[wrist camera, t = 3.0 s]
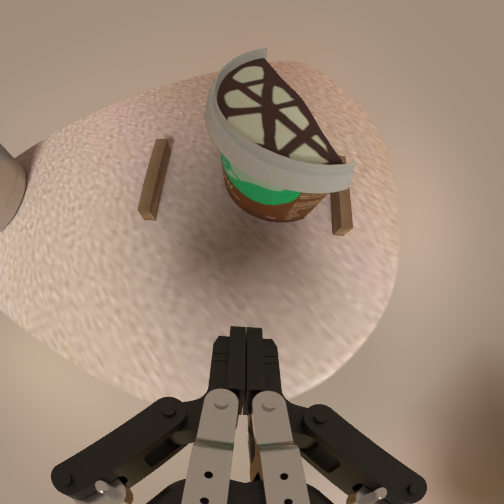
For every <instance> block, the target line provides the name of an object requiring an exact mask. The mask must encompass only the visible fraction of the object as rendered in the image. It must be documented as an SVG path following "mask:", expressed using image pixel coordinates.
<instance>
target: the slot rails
mask: <svg viewBox="0 0 504 504" xmlns="http://www.w3.org/2000/svg"><path fill="white" fill-rule="evenodd" d="M169 156H170V149H169V145H168V141H167V139H156V142H155V145H154V148H153V152H152V155H151V159H150V162H149V166H148V170H147V173H146V177H145V181H144V185H143V189H142V193H141V197H140V202H139V206H138V211H139V213H140V214H141V215H142V217H143V218H144V220H156V215H157V209H158V204H159V199H160V195H161V190H162V185H163V181H164V177H165V172H166V168H167V164H168V160H169ZM338 156H339V157H340V158H341V160H342V162H343V164H346V158H345V156H340V155H338ZM331 206H332V224H333V235H340V236H344V235H345V234H346V233H347V232H349V231H350V230H351V229H352V228H353V223H352V211H351V200H350V190H349V187H348V189H346V190H342V191H338V192H331Z"/></svg>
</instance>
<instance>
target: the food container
mask: <svg viewBox="0 0 504 504" xmlns="http://www.w3.org/2000/svg"><path fill="white" fill-rule="evenodd" d="M266 52H267V48H264V49H258V50H254V51H250V52H247V53H244V54H242V55H240V56H238V57H236V58H234V59H233V60H231V61H230V62H229V63H227V64H226V65H225V66H224V67H223V68H222V69H221V71H220V72H219V74H218V75H217V77H216V79H215V80H214V82H213V84H212V87H211V89H210V92H209V96H208V100H207V104H206V112H205V119H206V126H207V129H208V132H209V135H210V137H211V139H212V140H213V142H214V144H215V145H216V147H217V148H218V149H219V151H220V152H221V159H222V166H223V172H224V179H225V185H226V188H227V190H228V192H229V194H230V196H231V198H232V199H233V200H234V201H235V203H236V204H237V205H238V206H239V207H240V208H242V209H243V210H244V211H246V212H247V213H249V214H250V215H252V216H255V217H257V218H259V219H263V220H266V221H271V222H292V221H296V220H300V219H303V218H304V217H305V216H306V215H307V214H308V213H309V212H310V211H311V210H312V209H313V208H314V207H315V206H316V205H317V204H318V203H319V202H320V201H321V200H322V199H323V198H324V197H325V196H326V195H327V194H328V193H331V192H338V191H342V190H346V189H348V187H349V185H350V182H351V180H352V178H353V175H354V172H353V171H352V170H353V168H354V166H355V165H356V162H353V163H348V164H343V162H342V160H341V158H340V157H339V156H338V155H337V153H336V152H335V151H334V149H333V148H332V146H331V145H330V143H329V142H328V140H327V139H326V137H325V136H324V134H323V133H322V131H321V129H320V128H319V126H318V124H317V123H316V121H315V119H314V117H313V116H312V114H311V112H310V110H309V109H308V107H307V106H306V104H305V103H304V101H303V100H302V98H301V97H300V96H299V95H298V94H297V93H296V92H295V91H294V90H293V89H292V88H291V87H290V86H289V85H288V84H287V83H286V82H285V81H284V80H283V79H282V78H281V77H280V76H279V75H278V74H277V73H276V71H275V70H274V69H273V68H272V67H271V65H270V64H269V63H268V62H267V61H266Z"/></svg>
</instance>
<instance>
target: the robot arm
mask: <svg viewBox="0 0 504 504" xmlns="http://www.w3.org/2000/svg"><path fill="white" fill-rule="evenodd" d="M25 186H26V173H25V170H24V168H23V167H22V166H21V165H20V164H19V163H18V162H17V161H16V160H15V159H14V158H13V157H12V156H11V155H10V154H9V153H8V152H7V150H6V149H5V148H4V147H3V146H2V145H1V144H0V231H2V230H3V229H4V228H5V227H6V226H7V225H8V223H9V222H10V221H11V220H12V218H13V216H14V215H15V213H16V211H17V209H18V207H19V205H20V203H21V200H22V198H23V195H24V191H25ZM242 407H243V415H248V425H247V437H248V448H249V459H250V482H248V483H242V482H238V481H234V480H230V473H231V465H232V456H233V447H234V438H235V430H236V428H237V423H238V416H239V415H241V413H242ZM193 442H194V444H193V447H192V452H191V457H190V462H189V467H188V472H187V477H186V479H183V480H180V481H177V482H175V483H173V484H171V485H169V486H168V487H166V488H165V489H164V490H163V491H162V492H160V493H159V494H158V495H157V496H155V497H154V498H153V499H151V500H150V501H149V502H148V503H146V504H334V503H332V502H331V501H330V500H329V499H328V498H327V497H325V496H324V495H323V494H322V493H321V492H320V491H319V490H317V489H316V488H314V487H313V486H311V485H308V484H306V480H305V476H304V470H303V465H302V460H301V457H303V458H304V459H305V460H306V461H307V462H308V463H309V464H311V465H312V466H313V467H314V468H315V469H316V470H317V471H319V472H320V473H321V474H322V475H323V476H325V477H326V478H327V479H328V480H329V481H331V482H332V483H333V484H334V485H335V486H337V487H338V488H339V489H341V490H342V491H343V492H344V493H346V494H347V495H348V498H347V501H346V504H413V503H416V502H418V501H419V500H421V499H422V498H423V497H424V495H425V493H426V490H427V484H426V481H425V480H424V478H422V477H421V476H420V475H418V474H417V473H415V472H414V471H412V470H411V469H410V468H408V467H407V466H405V465H404V464H402V463H401V462H399V461H398V460H397V459H395V458H394V457H393V456H391V455H390V454H388V453H387V452H386V451H384V450H383V449H382V448H380V447H379V446H378V445H376V444H375V443H374V442H372V441H371V440H370V439H369V438H367V437H366V436H365V435H363V434H362V433H361V432H359V431H358V430H357V429H356V428H354V427H353V426H352V425H351V424H349V423H348V422H347V421H346V420H344V419H343V418H342V417H341V416H340V415H338V414H337V413H336V412H334V411H333V410H332V409H331V408H330V407H328V406H325V405H322V404H316V405H313V406H311V407H309V408H305V407H301V406H297V405H294V404H292V403H290V402H289V401H288V400H286V399H285V397H284V396H283V394H282V390H281V380H280V370H279V360H278V350H277V346H276V345H275V343H274V341H273V340H272V339H263V337H262V328H253V327H247V328H246V327H236V326H231V329H230V337H226V336H219V337H218V338H217V339H216V341H215V342H214V344H213V352H212V361H211V369H210V378H209V387H208V390H207V392H206V394H205V395H204V396H202V397H201V398H199V399H197V400H193V401H188V402H181V401H180V400H178V399H176V398H173V397H164V398H161V399H159V400H157V401H156V402H154V403H153V404H151V405H150V406H149V407H147V408H146V409H145V410H143V411H142V412H140V413H139V414H137V415H136V416H134V417H133V418H132V419H130V420H129V421H127V422H126V423H124V424H123V425H121V426H120V427H118V428H117V429H115V430H114V431H112V432H110V433H109V434H108V435H106V436H105V437H103V438H101V439H100V440H98V441H96V442H95V443H93V444H92V445H90V446H88V447H87V448H85V449H84V450H82V451H80V452H79V453H77V454H76V455H74V456H72V457H70V458H69V459H67V460H65V461H64V462H62V463H60V464H58V465H57V466H55V467H54V468H53V470H52V473H51V480H52V483H53V485H54V486H55V488H56V489H57V490H58V491H59V492H61V493H63V494H65V495H67V496H69V497H70V498H72V499H73V500H74V501H75V502H76V504H131V503H132V502H133V493H132V491H131V490H130V488H131V487H132V486H134V485H135V484H136V483H138V482H139V481H141V480H142V479H143V478H145V477H146V476H148V475H149V474H150V473H152V472H153V471H154V470H156V469H157V468H159V467H160V466H161V465H163V464H164V463H165V462H166V461H168V460H169V459H170V458H171V457H173V456H174V455H175V454H177V453H178V452H179V451H180V450H182V449H183V448H184V447H185V446H187V445H188V444H189V443H193Z"/></svg>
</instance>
